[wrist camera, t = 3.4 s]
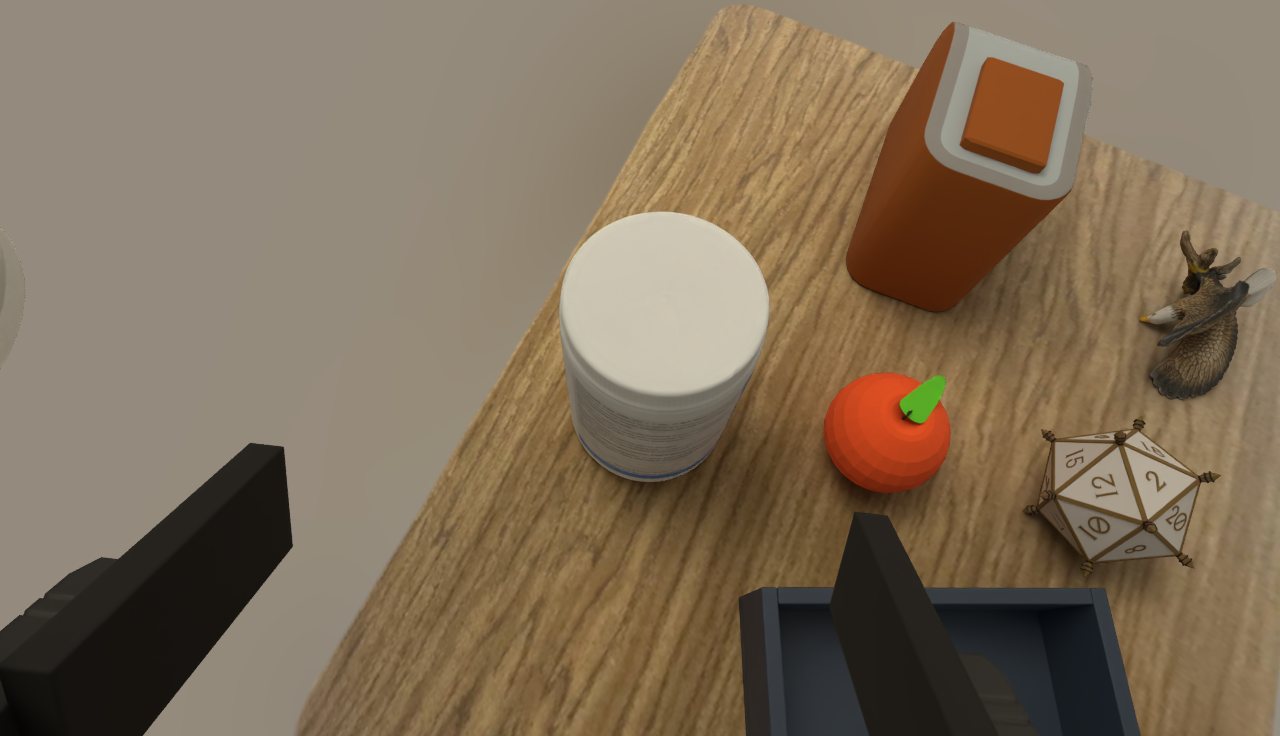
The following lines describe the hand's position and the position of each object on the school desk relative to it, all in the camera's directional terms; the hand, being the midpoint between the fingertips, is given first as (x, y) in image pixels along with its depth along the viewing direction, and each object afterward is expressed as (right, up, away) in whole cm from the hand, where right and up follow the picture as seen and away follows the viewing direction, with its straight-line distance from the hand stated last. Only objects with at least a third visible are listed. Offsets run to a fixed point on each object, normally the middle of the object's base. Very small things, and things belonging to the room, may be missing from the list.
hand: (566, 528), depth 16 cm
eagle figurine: (+38, +6, +32) cm, 50 cm away
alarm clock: (+22, +15, +35) cm, 44 cm away
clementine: (+16, -1, +28) cm, 32 cm away
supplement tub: (+2, +1, +28) cm, 28 cm away
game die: (+28, -5, +27) cm, 39 cm away
